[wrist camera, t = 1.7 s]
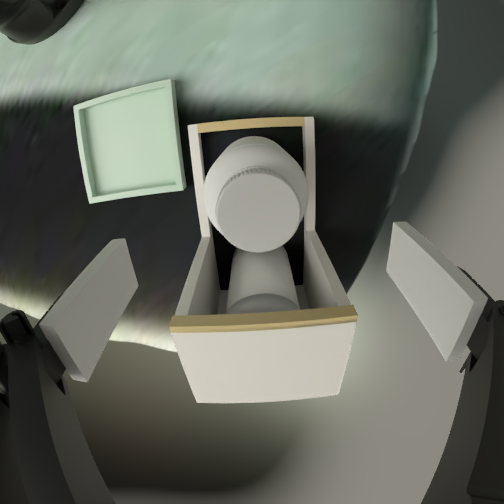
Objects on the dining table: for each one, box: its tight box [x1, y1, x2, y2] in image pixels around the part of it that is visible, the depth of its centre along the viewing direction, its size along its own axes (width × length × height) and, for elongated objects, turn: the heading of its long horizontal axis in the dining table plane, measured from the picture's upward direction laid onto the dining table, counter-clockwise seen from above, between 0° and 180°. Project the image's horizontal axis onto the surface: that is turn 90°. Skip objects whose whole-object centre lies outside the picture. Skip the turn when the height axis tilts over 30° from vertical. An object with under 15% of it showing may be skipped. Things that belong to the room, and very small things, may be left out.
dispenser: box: [169, 117, 358, 403], centre depth 25 cm, size 22×13×17 cm, turn 4°
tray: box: [74, 79, 186, 204], centre depth 28 cm, size 12×12×2 cm
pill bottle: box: [203, 136, 309, 252], centre depth 24 cm, size 8×8×15 cm
